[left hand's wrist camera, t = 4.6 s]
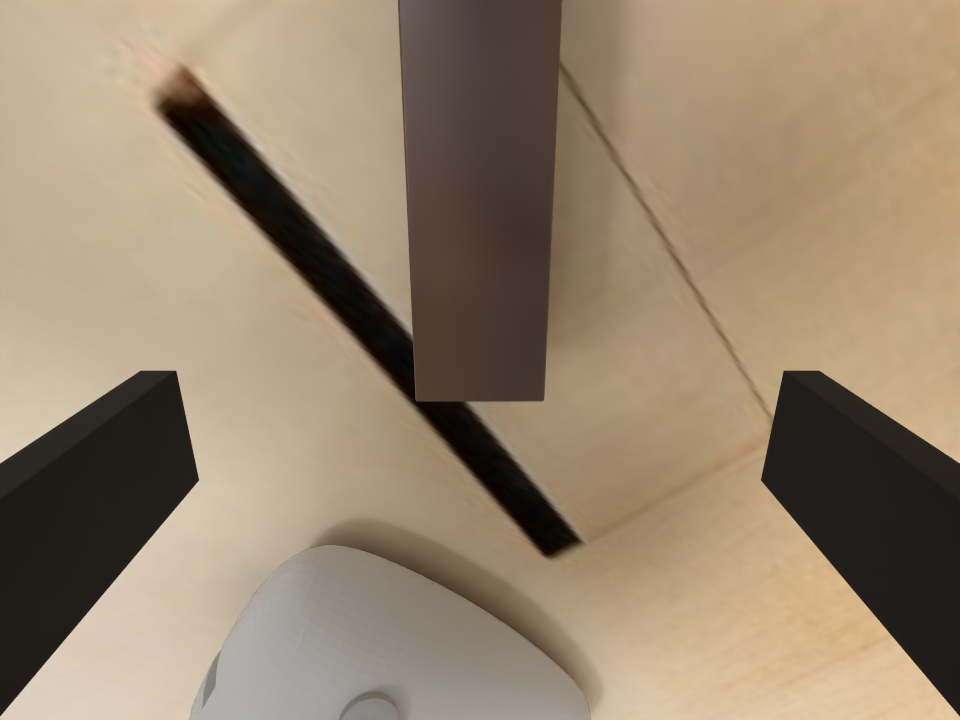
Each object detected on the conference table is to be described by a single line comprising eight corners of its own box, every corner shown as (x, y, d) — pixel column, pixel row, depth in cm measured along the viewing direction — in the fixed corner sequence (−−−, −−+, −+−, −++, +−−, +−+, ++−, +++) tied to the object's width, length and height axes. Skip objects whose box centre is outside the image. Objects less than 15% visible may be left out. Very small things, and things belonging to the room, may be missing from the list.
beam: (432, 336, 29) (415, 402, 22) (409, -356, 20) (368, -655, 12) (527, 336, 29) (544, 402, 22) (550, -356, 20) (591, -655, 12)
